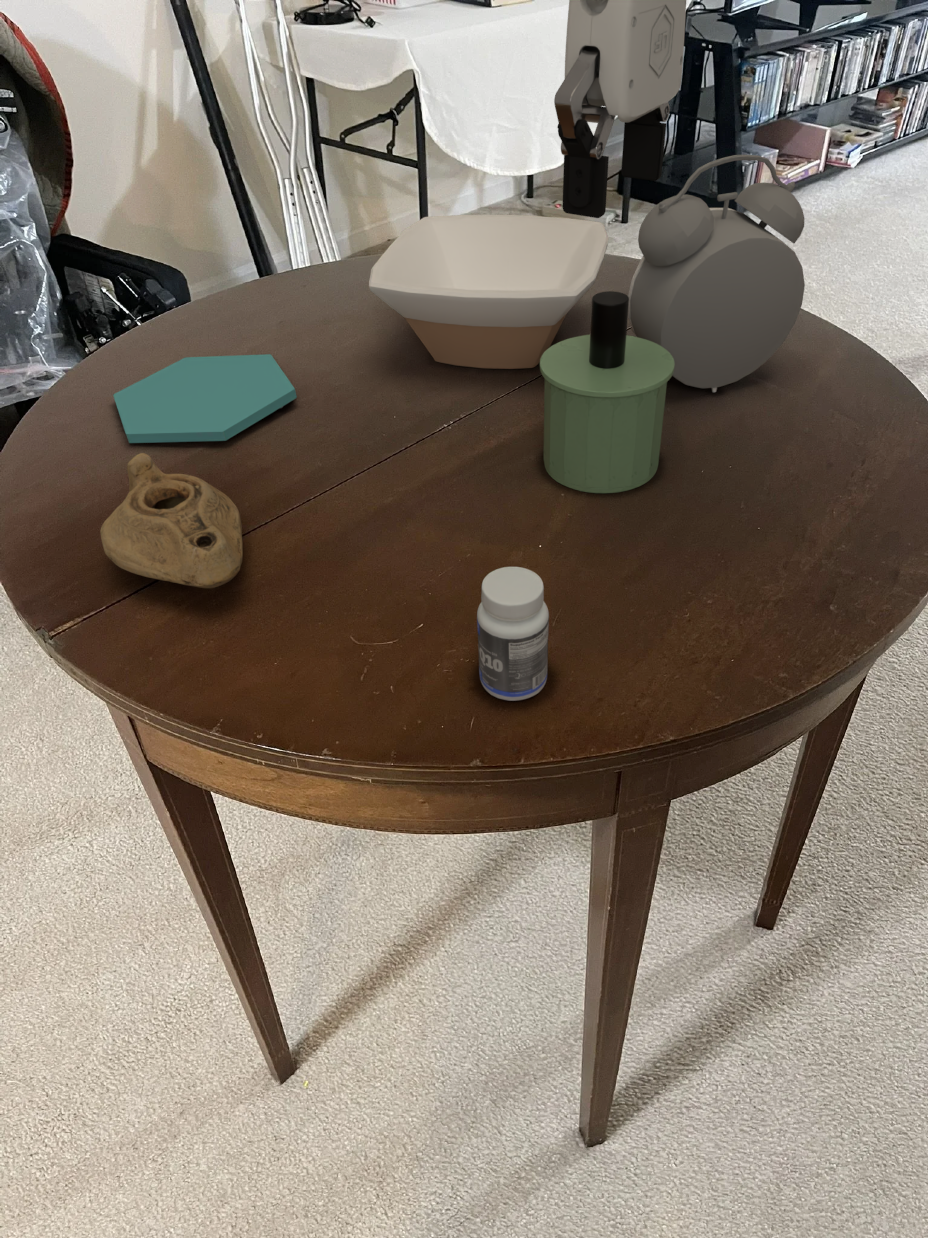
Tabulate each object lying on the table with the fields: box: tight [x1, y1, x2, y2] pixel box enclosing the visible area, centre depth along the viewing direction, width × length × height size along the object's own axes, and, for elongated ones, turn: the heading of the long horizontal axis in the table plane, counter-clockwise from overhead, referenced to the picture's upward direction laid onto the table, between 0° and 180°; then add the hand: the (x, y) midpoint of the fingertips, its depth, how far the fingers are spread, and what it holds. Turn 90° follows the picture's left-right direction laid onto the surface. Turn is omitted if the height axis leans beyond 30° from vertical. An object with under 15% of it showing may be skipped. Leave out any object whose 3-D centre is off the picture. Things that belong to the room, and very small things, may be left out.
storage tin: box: [542, 378, 668, 494], centre depth 83 cm, size 10×10×10 cm
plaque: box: [112, 353, 298, 444], centre depth 98 cm, size 17×2×20 cm
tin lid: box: [539, 290, 675, 398], centre depth 78 cm, size 11×11×7 cm
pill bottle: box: [476, 566, 550, 702], centre depth 62 cm, size 5×5×8 cm
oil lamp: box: [99, 452, 244, 589], centre depth 74 cm, size 11×15×8 cm
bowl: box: [368, 214, 610, 370], centre depth 103 cm, size 24×25×11 cm
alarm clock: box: [627, 154, 806, 393], centre depth 90 cm, size 16×9×22 cm, turn 108°
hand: (613, 195), depth 70 cm, fingers open, 9 cm apart
